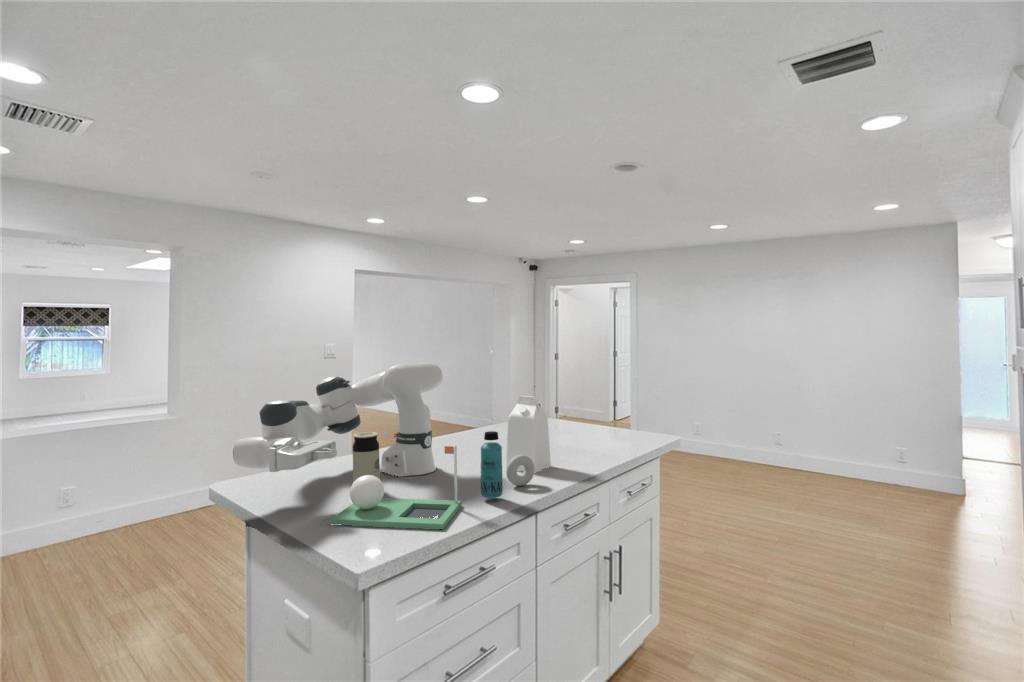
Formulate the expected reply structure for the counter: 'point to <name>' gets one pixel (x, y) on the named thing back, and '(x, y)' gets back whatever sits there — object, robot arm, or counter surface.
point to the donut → (513, 466)
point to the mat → (404, 510)
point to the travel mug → (365, 455)
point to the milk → (528, 433)
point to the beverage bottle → (491, 467)
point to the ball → (366, 492)
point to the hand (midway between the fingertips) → (334, 453)
